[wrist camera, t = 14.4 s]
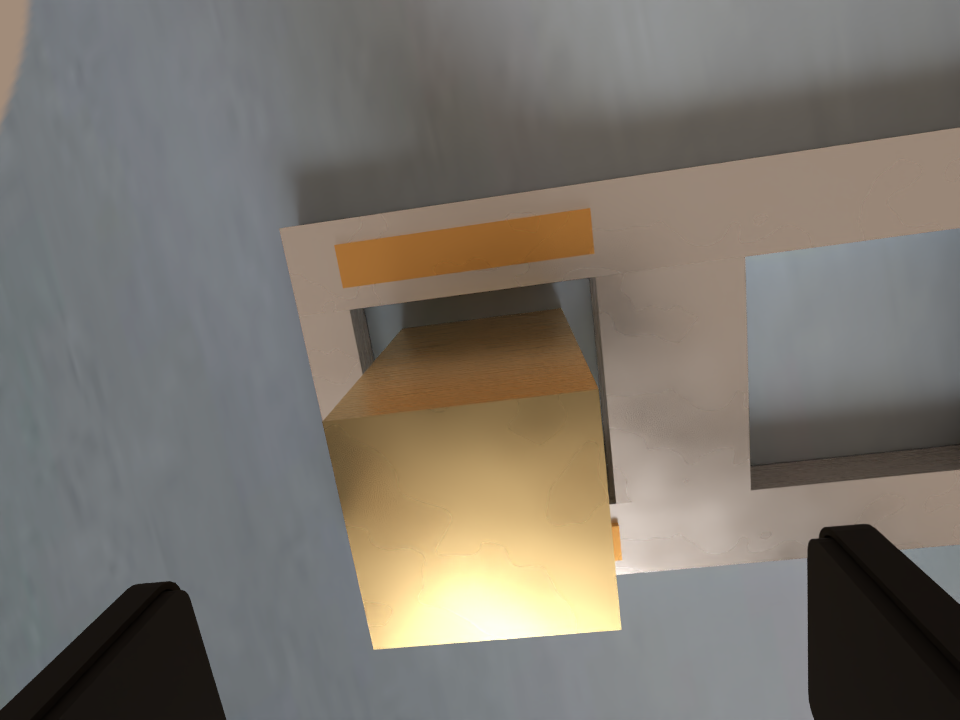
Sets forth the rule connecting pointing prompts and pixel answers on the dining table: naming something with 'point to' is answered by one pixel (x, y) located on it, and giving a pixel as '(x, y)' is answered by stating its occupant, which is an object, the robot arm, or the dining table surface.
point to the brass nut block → (477, 484)
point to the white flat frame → (665, 331)
